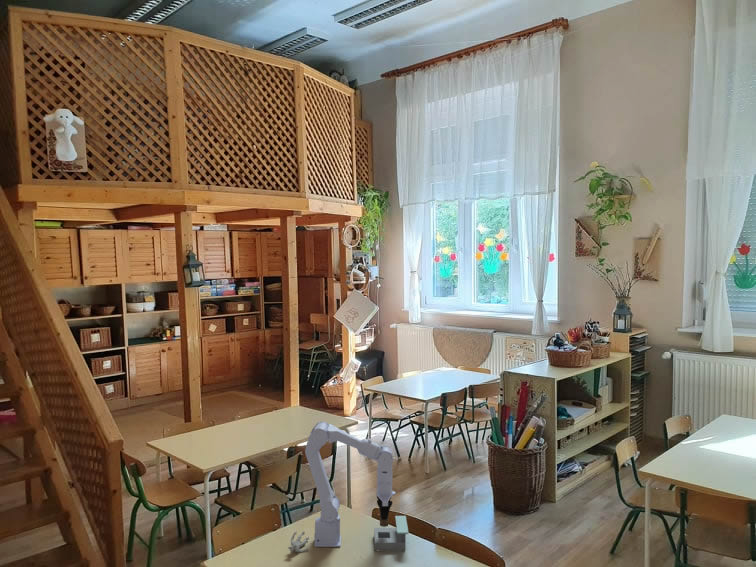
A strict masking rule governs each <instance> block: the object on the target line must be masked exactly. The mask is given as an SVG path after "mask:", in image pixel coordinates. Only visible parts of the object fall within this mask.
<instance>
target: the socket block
mask: <svg viewBox="0 0 756 567" xmlns="http://www.w3.org/2000/svg"><path fill="white" fill-rule="evenodd" d="M394 517H395V526H396V527H373V529H374V530H373V533H374V534H373V535H374V536H373V538H374V542H373V543H374V551H375V550H394V551H393V552H396V551H395V550H397V552H398V551H399V552H400V551H401V552H402V551H404V552H405V551H406V541H407V540H406V536H407V535H409V528H408V522H407V516H406V515H395V516H394Z"/></svg>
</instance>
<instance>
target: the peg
mask: <svg viewBox="0 0 756 567" xmlns="http://www.w3.org/2000/svg"><path fill="white" fill-rule="evenodd" d="M389 516H390V515H389V514H388V519H387V520H382V519H381V514H380V513H379V526H380V527H381V528H387V527H388V526H389Z"/></svg>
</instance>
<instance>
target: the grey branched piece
mask: <svg viewBox="0 0 756 567" xmlns="http://www.w3.org/2000/svg"><path fill="white" fill-rule="evenodd" d="M305 532H306V531H303V532H302V533H300V534H299V535H298V536H297V539H296V540H295V541H294V539H295V535H297V533H298V531H297V530H296V531H294V532H293V534H292V536H291V539H290V546H288V549H289V550H290V552H291V553H294V552H297V553H299V554H300V553H304V552H307V551H309V550H310V548H309V547H306V548H305V549H300V548H302V547H303V546H304V545H305V544H307V541H309V539H310V538H309V536H308V537H306V538H304V539H303V541H302V542H301V539H302V536H304V535H305V534H306V533H305Z"/></svg>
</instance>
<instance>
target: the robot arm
mask: <svg viewBox="0 0 756 567" xmlns="http://www.w3.org/2000/svg"><path fill="white" fill-rule="evenodd" d="M327 442H328V444H331V443H334V442H339V443H341V444H342V443H343V444H344V445H347V446H349V447H352V448H354V449H356V450H357V452H358V454H359V455H362V456H363V457H366V458H368V459H370V460H373V461H376V463H377V468H376V493H375V494H376V498H377V499H376V504H377V507H378V508H379V515H380V514H381V519H382V520H387V519H388V520H389V517H388V514H389V513H390V510H391V507H392V506H393V500H391V499H392V497H393V496H396V491H394V490H393V462H394V456H393V455H394V453H393V450H392V449H391V448H390V446H387V445H382V444H378V443H376V442H374V441H372V439H371V438H368V439H367V438H363V439H359V438H358V437H356V436H354V435H351V434H350V433H348V432H345V431H344V430H342V429H340V428H338V427H336V426H335V425H333V424H329V423H328V422H326V421H318V422H317V423H316V424H315V425H314V426H313V428H312V430H311V432H310V434H309V435H308V439H307V442H306V446H305V449H304V453H305V458H306V460H307V462H308V466H309V469H310V473H311V475H312V477H313V478H312V479H313V480H314V484H315V488H316V490H317V493H318V497H319V506H320V516H318V517H316V518H315V520H314V521H315V522H314V535H313V536H314V537H313V538H314V547H316V548H317V547H318V548H319V547H320V548H324V547H325V548H327V547H328V548H330V547H331V548H332V547H334V548H335V547H341V545H342V535H341V515H340V514H339V510H340V505H341V503H340V501H341V500H340V499H339V498H338V496H336V494H335V492H334V491H335V490H333V489H332V487H331V484H330V481H329V478H328V474H327V472H326V468H325V465H324V461H323V459H322V456H321V453H320V450H321V448H322V447H323V446H324V445H325V444H326V443H327Z"/></svg>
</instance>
